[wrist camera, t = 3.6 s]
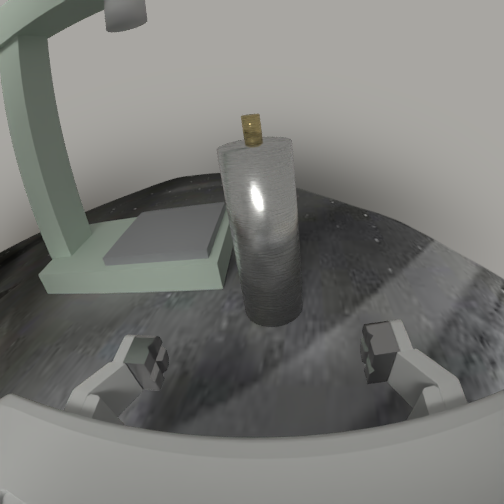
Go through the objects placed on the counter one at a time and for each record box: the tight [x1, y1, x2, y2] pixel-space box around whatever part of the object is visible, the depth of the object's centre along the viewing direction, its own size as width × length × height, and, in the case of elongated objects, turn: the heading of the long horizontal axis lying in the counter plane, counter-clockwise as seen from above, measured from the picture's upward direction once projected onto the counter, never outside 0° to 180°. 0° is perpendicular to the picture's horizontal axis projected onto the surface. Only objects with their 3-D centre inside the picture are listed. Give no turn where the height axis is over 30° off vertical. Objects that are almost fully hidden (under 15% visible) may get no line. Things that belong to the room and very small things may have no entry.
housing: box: [217, 114, 302, 327], centre depth 22 cm, size 5×5×16 cm
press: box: [0, 0, 233, 294], centre depth 26 cm, size 38×14×39 cm, turn 86°
